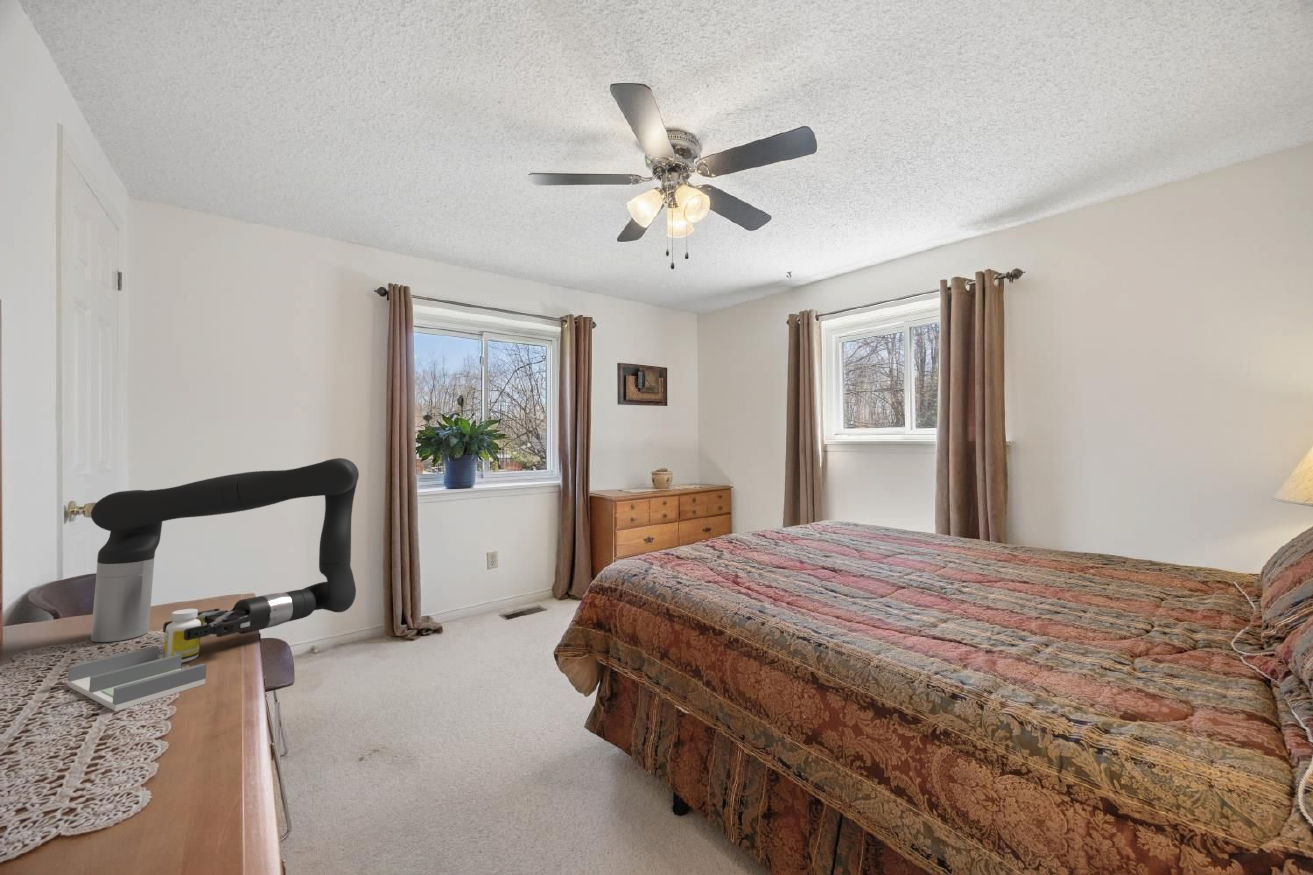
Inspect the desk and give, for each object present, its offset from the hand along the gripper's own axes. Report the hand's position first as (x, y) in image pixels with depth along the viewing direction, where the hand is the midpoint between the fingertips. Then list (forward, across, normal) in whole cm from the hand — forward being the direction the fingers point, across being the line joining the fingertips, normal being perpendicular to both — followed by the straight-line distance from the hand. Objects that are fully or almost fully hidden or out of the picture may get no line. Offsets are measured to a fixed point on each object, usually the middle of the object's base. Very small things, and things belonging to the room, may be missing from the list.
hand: (174, 631), depth 104 cm
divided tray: (+8, +8, +6) cm, 13 cm away
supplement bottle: (-2, 0, +6) cm, 6 cm away
